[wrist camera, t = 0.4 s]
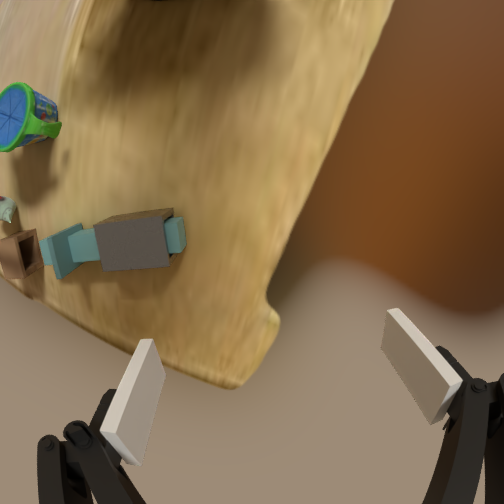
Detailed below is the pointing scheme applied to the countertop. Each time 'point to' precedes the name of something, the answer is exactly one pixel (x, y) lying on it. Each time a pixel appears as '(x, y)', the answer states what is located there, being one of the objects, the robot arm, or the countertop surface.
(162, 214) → the sleeve
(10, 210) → the robot head
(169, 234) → the tube
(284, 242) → the countertop surface
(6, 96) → the snack cup
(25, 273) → the socket block
